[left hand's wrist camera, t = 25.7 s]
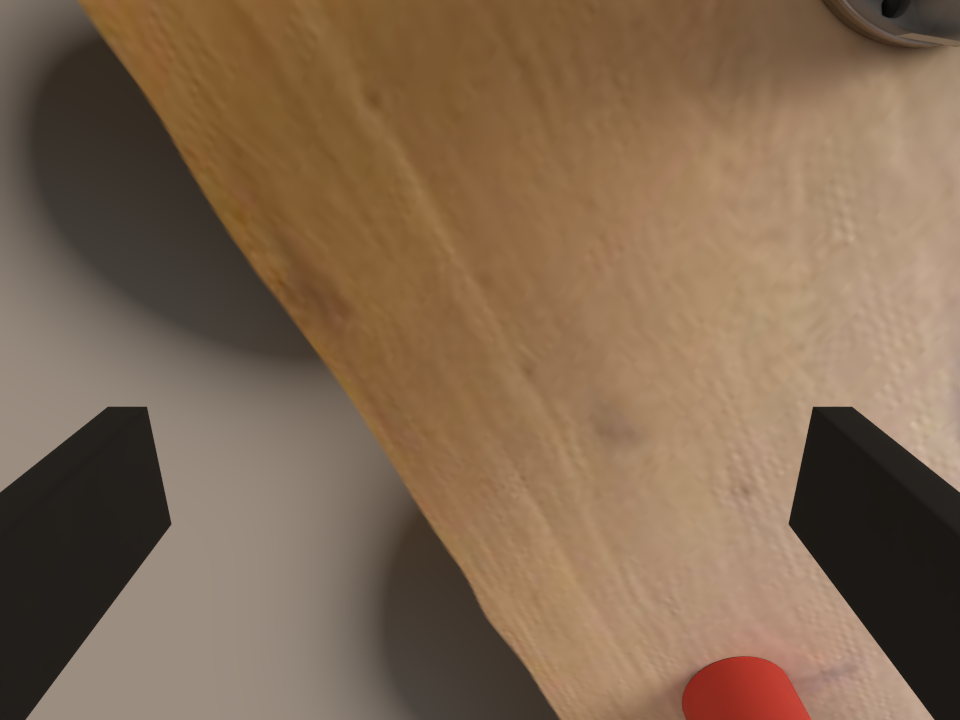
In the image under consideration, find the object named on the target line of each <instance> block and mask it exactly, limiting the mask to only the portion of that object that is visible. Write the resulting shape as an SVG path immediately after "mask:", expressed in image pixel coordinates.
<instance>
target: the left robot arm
mask: <svg viewBox="0 0 960 720" xmlns="http://www.w3.org/2000/svg"><path fill="white" fill-rule="evenodd" d="M823 1H824V3H825V4H826V5H827V6H828V8H829V9H830V10H831V11H832V12H833V13H834V14H835V15H836V16H837V17H838V18H839V19H840V20H841V21H842V22H843V23H845V24H846V25H848V26H849V27H850V28H852V29H853V30H855V31H856V32H858V33H860V34H862V35H864V36H865V37H868V38H870V39H873V40H875V41H878V42H881V43H885V44H889V45H893V46H900V47H915V48H921V47H933V46H940V45H949V46H955V47H958V46H960V0H823ZM170 525H171V520H170V515H169V510H168V506H167V501H166V496H165V491H164V487H163V482H162V477H161V472H160V467H159V462H158V458H157V453H156V448H155V443H154V439H153V434H152V429H151V424H150V420H149V415H148V410H147V407H107V408H106V409H105V410H103V411H102V412H101V413H100V414H98V415H97V416H96V417H95V418H93V419H92V420H91V421H90V422H88V423H87V424H86V425H85V426H83V427H82V428H81V429H80V430H78V431H77V432H76V433H75V434H73V435H72V436H71V437H69V438H68V439H67V440H66V441H64V442H63V443H62V444H61V445H59V446H58V447H57V448H56V449H54V450H53V451H52V452H51V453H49V454H48V455H47V456H46V457H44V458H43V459H42V460H41V461H39V462H38V463H37V464H36V465H34V466H33V467H32V468H31V469H29V470H28V471H27V472H25V473H24V474H23V475H22V476H20V477H19V478H18V479H17V480H15V481H14V482H13V483H12V484H10V485H9V486H8V487H7V488H5V489H4V490H3V491H2V492H0V720H26V718H27V717H28V716H29V714H30V713H31V711H32V710H33V709H34V708H35V706H36V705H37V704H38V702H39V701H40V699H41V698H42V697H43V695H44V694H45V693H46V691H47V690H48V689H49V687H50V686H51V685H52V683H53V682H54V681H55V679H56V678H57V677H58V675H59V674H60V673H61V671H62V670H63V669H64V667H65V666H66V665H67V663H68V662H69V661H70V659H71V658H72V657H73V655H74V654H75V653H76V651H77V650H78V648H79V647H80V646H81V645H82V643H83V642H84V640H85V639H86V638H87V637H88V635H89V634H90V632H91V631H92V630H93V628H94V627H95V626H96V624H97V623H98V622H99V620H100V619H101V618H102V616H103V615H104V614H105V612H106V611H107V610H108V608H109V607H110V606H111V604H112V603H113V602H114V600H115V599H116V598H117V596H118V595H119V594H120V592H121V591H122V590H123V588H124V587H125V586H126V584H127V583H128V582H129V580H130V579H131V578H132V576H133V575H134V574H135V572H136V571H137V570H138V568H139V567H140V566H141V564H142V563H143V561H144V560H145V559H146V557H147V556H148V555H149V554H150V552H151V551H152V549H153V548H154V547H155V545H156V544H157V543H158V541H159V540H160V539H161V537H162V536H163V535H164V533H165V532H166V531H167V529H168V528H169V527H170ZM789 525H790V527H791V528H792V529H793V531H794V532H795V533H796V535H797V536H798V537H799V539H800V540H801V541H802V543H803V544H804V545H805V547H806V548H807V549H808V551H809V552H810V554H811V555H812V556H813V558H814V559H815V560H816V562H817V563H818V564H819V566H820V567H821V568H822V570H823V571H824V572H825V574H826V575H827V576H828V578H829V579H830V580H831V582H832V583H833V584H834V586H835V587H836V588H837V590H838V591H839V592H840V594H841V595H842V596H843V598H844V599H845V600H846V602H847V603H848V604H849V606H850V607H851V608H852V610H853V611H854V612H855V614H856V615H857V616H858V618H859V619H860V620H861V622H862V623H863V624H864V626H865V627H866V629H867V630H868V631H869V633H870V634H871V635H872V637H873V638H874V639H875V641H876V642H877V643H878V645H879V646H880V647H881V649H882V650H883V651H884V653H885V654H886V655H887V657H888V658H889V659H890V661H891V662H892V663H893V665H894V666H895V667H896V669H897V670H898V671H899V673H900V674H901V675H902V677H903V678H904V679H905V681H906V682H907V683H908V685H909V686H910V687H911V689H912V690H913V691H914V693H915V694H916V695H917V697H918V698H919V699H920V701H921V702H922V704H923V705H924V706H925V708H926V709H927V710H928V712H929V713H930V714H931V716H932V717H933V718H934V720H960V492H958V491H957V490H956V489H955V488H953V487H952V486H951V485H950V484H948V483H947V482H946V481H945V480H943V479H942V478H941V477H940V476H938V475H937V474H936V473H935V472H933V471H932V470H931V469H930V468H928V467H927V466H926V465H924V464H923V463H922V462H921V461H919V460H918V459H917V458H916V457H914V456H913V455H912V454H911V453H909V452H908V451H907V450H906V449H904V448H903V447H902V446H901V445H899V444H898V443H897V442H896V441H894V440H893V439H892V438H891V437H889V436H888V435H887V434H886V433H884V432H883V431H882V430H880V429H879V428H878V427H877V426H875V425H874V424H873V423H872V422H870V421H869V420H868V419H867V418H865V417H864V416H863V415H862V414H860V413H859V412H858V411H857V410H855V409H854V408H853V407H813V410H812V415H811V419H810V424H809V429H808V434H807V439H806V443H805V448H804V453H803V458H802V462H801V467H800V472H799V477H798V482H797V486H796V491H795V496H794V501H793V506H792V510H791V515H790V520H789Z"/></svg>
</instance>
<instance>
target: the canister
mask: <svg viewBox="0 0 960 720" xmlns="http://www.w3.org/2000/svg"><path fill="white" fill-rule="evenodd" d="M682 708H683V712H684V715H685V718H686V720H811V718H810V716H809V714H808V713H807V711H806V709H805V707H804V705H803V704H802V702H801V700H800V698H799V696H798V695H797V693H796V691H795V689H794V687H793V686H792V684H791V682H790V680H789V678H788V677H787V675H786V674H785V672H784V671H783V670H782V669H781V668H780V667H778V666H777V665H775V664H774V663H772V662H770V661H767V660H764V659H761V658H756V657H733V658H728V659H724V660H721V661H718V662H716V663H713V664H711V665H709V666H707V667H706V668H704V669H703V670H701V671H700V672H699V673H697V674H696V675H695V676H694V677H693V678H692V679H691V681H690V682H689V683H688V685H687V687H686V689H685V691H684V694H683V698H682Z"/></svg>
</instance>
